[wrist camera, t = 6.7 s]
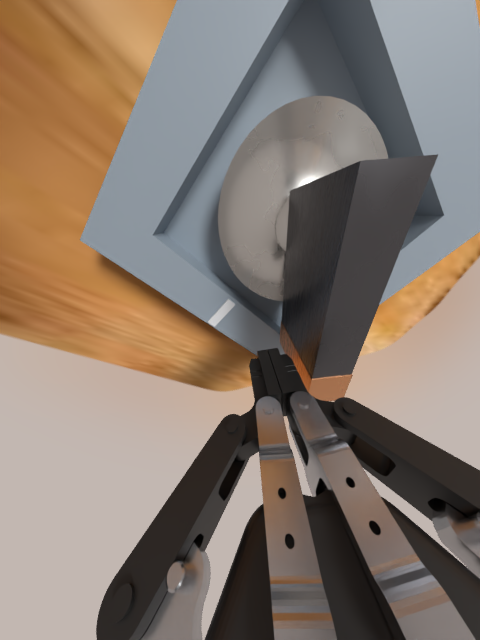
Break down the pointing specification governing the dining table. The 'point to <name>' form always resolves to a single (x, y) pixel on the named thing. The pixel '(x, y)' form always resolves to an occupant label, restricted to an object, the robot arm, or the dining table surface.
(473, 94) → the housing
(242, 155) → the dial
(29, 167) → the dining table surface
